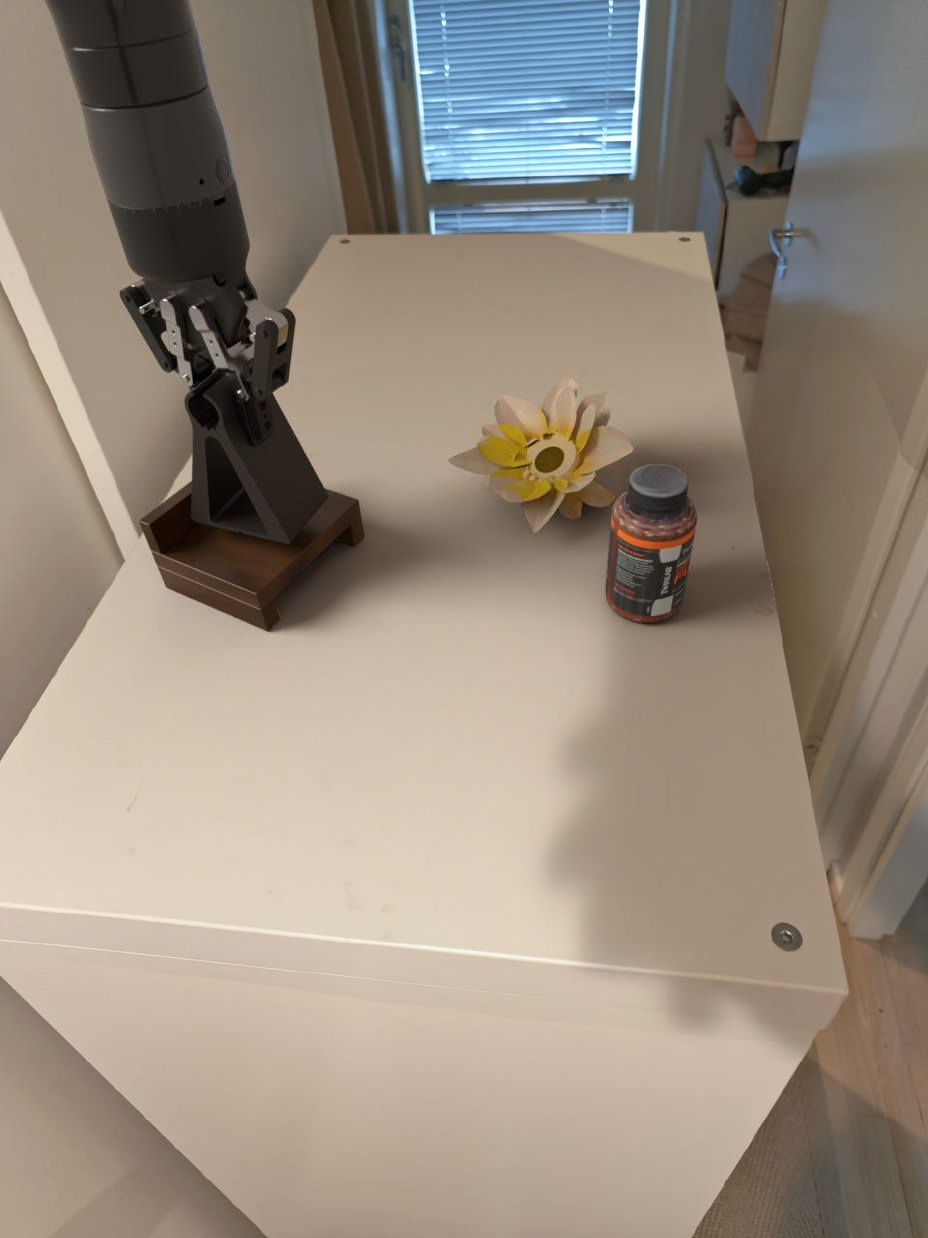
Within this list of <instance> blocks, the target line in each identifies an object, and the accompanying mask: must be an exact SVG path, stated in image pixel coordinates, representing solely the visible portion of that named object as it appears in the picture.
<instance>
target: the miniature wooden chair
mask: <svg viewBox="0 0 928 1238" xmlns="http://www.w3.org/2000/svg"><path fill="white" fill-rule="evenodd" d="M324 488H325V490H326V492H327V494H328V496H329V497H328V499H327V500H326V501H325V502H324V504H323V505H322V506H321V507H320V508H319V509H318V511H317V512H316V513H315V514H314V515H313V517H312V518H311V519H310V520H309V521H308V522H307V524H306V525H305V526H304V527H303V528H302V529H301V531H300V532H299V533H298V534H297V535H296V537H295V538H294V539H293V540H292V541H291V542H290V544H284V543H280V542H276V541H272V540H268V539H263V538H259V537H255V536H251V535H247V534H243V533H242V532H241V531H240V532H234V531H230V530H226V529H222V528H218V527H214V526H209V525H205V524H201V523H197V522H195V521H193V520H192V518H191V498H192V480H191V481H189V482H188V483H187V484H185V485H184V486H183V487H181V488H180V489H179V490H177V491H176V492H175V493H173V494H172V495H170V496H169V497H168V498H166V499H165V500H163V502H162V503H160V504H159V505H157V506H156V507H155V508H154V509H152V510H151V511H149V512H148V513H147V514H145V515H144V516H143V517H142V518H140V519H139V520H138V523H139V526H140V528H141V531H142V533H143V535H144V538H145V540H146V543H147V545H148V547H149V550H150V552H151V555H152V557H153V559H154V562H155V564H156V566H157V569H158V572H159V574H160V576H161V579H162V581H163V584H164V586H165V588H166V589H169V590H170V591H173V592H174V593H178V594H179V595H183V596H185V597H187V598H189V599H191V600H194V601H196V602H198V603H200V604H203V605H205V606H208V607H210V608H212V609H215V610H216V611H219V612H221V613H223V614H225V615H228V616H231V617H232V618H235V619H238V620H240V621H242V622H245V623H247V624H250V626H251V625H252V626H254V627H256V628H259V629H261V630H263V631H266V632H270V631H271V629H273V628H274V626H276V625H277V623H279V621H281V620H282V619H281V615H280V611H279V607H278V605H277V601H276V598H275V597H276V596H277V595H278V594H279V593H280V592H282V590H284V589H285V588H286V587H287V585H289V584H290V583H291V582H292V581H293V580H294V579H295V578H296V577H297V576H298V575H299V574H300V573H301V572H302V571H303V570H305V569H306V568H307V566H308V565H310V564H311V563H312V562H313V561H314V560H315V559H316V558H317V557H318V556H319V555H320V554H322V552H323V551H324V550H326V548H327V547H328V546H330V545H331V544H332V543H333V542H334V541H337V542H340V543H342V544H345V545H348V546H351V547H356V546H357V545H359V543H360V542H361V541H362V540H363V539H364V538H365V536H366V534H365V529H364V523H363V522H364V521H363V518H362V511H361V505H360V500H359V499H358V498H355V497H352V496H349V495H347V494H342V493H341V492H338V491H334V490H331V489H328V488H326V487H324Z"/></svg>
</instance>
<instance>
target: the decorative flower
mask: <svg viewBox="0 0 928 1238" xmlns="http://www.w3.org/2000/svg"><path fill="white" fill-rule="evenodd" d="M578 385H579V383H578V382H577V381H576V380H574V379H573V378H571V377H569V378H563V379H560V380H559V381H557V382H555V384H553V386H551V388H550V389H549V390H548V391H547V393H546V395H545V396H544V398H543V401H542V404H541V408H540V407H539V406H538V405H537V404H536V403H535V402H534V401H529V400H527V399H523V398H519V397H516V396H512V395H508V394H501V396H499V398H498V399H497V401H496V403H495V404H494V409H493V410H494V418H495V421H496V424H486V425H485V424H483V425H482V427H481V434H482V436H481V437H480V439H479V440H478V441H477V442H476V446H475V447H472V448H470V449H468V450H466V451H465V450H464V451H463V452H459V453H458V454H455V455H453V456H452V457H449V458H447V461H448V463H450V464H451V465H452V466H454V467H456V468H458V469H461V470H464V471H465V472H469V473H472V474H474V475H475V474H476V475H478V476H483V477H486V478H485V479H484V484H485V486H486V489H487V490H488V491H489V492H492V493H493V494H496V495H500V496H501V498H502V499H503V500H505V501H507V502H509V503H519V504H520V507H521V509H522V511H523V513H524V516H525V518H526V520H527V522H528V525H529V526H530V528H531V530H532V532H533V533H536V532H539V531H540V530H541V529H542V528H543V527H544V526H545V525H546V523H548V521H550V519H551V518H552V517H553V515H554V514H555V512H556V511H557V510H558V511H559V513H560V514H562V515H563V516H564V517H565V518H566V519H569V520H571V521H573V520H574V521H575V520H577V519H580V518H581V516H582V510H583V509H582V508H583V507H582V506H583V503H585V504H586V505H588V506H591V507H596V508H604V507H608V506H609V505H611V504H612V503H613V502H615V500H616V496H615V495H614V494H612V493H611V492H610V491H608V489H606V488H605V487H604V486H602V485H600V484H599V483H597V482H595V481H594V479H595V477H596V471H598V470H600V469H602V468H605V467H606V466H608V465H611V464H613V463H615V462H617V461H619V460H621V459H623V458H624V457H626V456H628V455H630V454H631V453H632V452H634V446H633V444H632V442H631V440H630V439H629V438H628V436H627V434H626V433H625V432H623V431H621V430H619V429H618V428H616V427H612V426H608V423H609V421H610V418H611V415H612V409H613V406H612V405H613V404H612V399H611V397H610V395H609V393H608V392H607V391H605V390H601V389H599V388H595V389H593V390H592V391H590V392H589V393H587V394H586V395H584V397H583V398H582V400H581V401H580V403H579V405H578V407H577V397H578V387H579V386H578Z"/></svg>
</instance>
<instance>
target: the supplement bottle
mask: <svg viewBox="0 0 928 1238" xmlns="http://www.w3.org/2000/svg"><path fill="white" fill-rule="evenodd" d="M688 490H689V478H688V476H687V475H686V473H685V472H683V471H682V470H681V469H679V468H678V467H675V466H673V465H669V464H664V463H648V464H644V465H641V466H639V467H637V468H636V469H634V470H633V471H632V472H631V473H630V476H629V480H628V486H627V489H626V491H624V492H623V493H622V494H621V495H619V496H618V498H617V499H615V500H616V501H614V504H613V507H612V511H611V517H610V528H609V529H610V530H609V542H608V552H607V561H606V562H607V563H606V564H607V565H606V575H605V587H604V589H605V591H604V593H605V594H604V595H605V600H606V602H607V603H608V604H607V605H608V606H609V607H610V609H611V610H612V611H613V612H614V613H615V614H617V615H618V616H620V617H621V618H623V619H625V620H628V621H631V622H636V623H641V624H642V623H644V624H652V623H659V622H663V621H665V620H667V619H670V618H671V617H673V615H674V616H675V614H676V613H677V612H678V611H679V609H680V608H681V607H682V604H683V599H684V597H685V592H686V585H687V580H688V574H689V568H690V562H691V557H692V552H693V546H694V541H695V536H696V528H697V523H698V512H697V508H696V505H695V503H694V502H693V500H692V499H691V498H690V497H689V496H688V494H689V492H688Z"/></svg>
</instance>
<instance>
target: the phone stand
mask: <svg viewBox="0 0 928 1238" xmlns="http://www.w3.org/2000/svg"><path fill="white" fill-rule="evenodd" d="M242 371H243V374H244V376H245V379H246V378H248V377H249V376H251V374H250V372H249V370H248V367H247V365H246V363H244V364H243V365H242ZM268 398H269V402H270V406H271V411H272V415H273V419H274V423H275V430H274V432H273V434H272V435H271V437H269V438H268V439H267V440H266V441H264V442H263V443H262V444H260V445H259V446H253V445H252V444H251V443H250V441H249V440H248V438H247V436H246V434H245V432H244V430H243V428H242V425H241V422H240V418H239V414H238V411H237V407H236V404H235V400H236V399H237V398H236V396H235V395H234V392H233V390H232V388H231V385H230V383H229V381H228V379H227V376H226V374H225V372H224V371H219V370H218V369H217V368H216V370H215V371H214V372H212V374H211V375H209V376H208V377H207V378H206V379H205V380H203V381H202V382H201V383H200V384H199V385H197V386H196V387H195V388H194V389H193V390H191V391H190V390H189V391H188V392H187V393H186V395H185V396H184V408H185V411H186V413H187V415H188V418H189V420H190V423H191V428H192V455H191V456H192V457H191V458H192V460H191V461H192V462H191V481H192V498H191V518H192V520H193V521H195V522H197V523H201V524H205V525H209V526H214V527H218V528H222V529H226V530H230V531H234V532H240V531H241V532H242V533H243V534H247V535H251V536H255V537H259V538H263V539H268V540H272V541H276V542H280V543H284V544H290V542H291V541H292V540H293V539H294V538H295V537H296V535H297V534H298V533H299V532H300V531H301V529H302V528H303V527H304V526H305V525H306V524H307V522H308V521H309V520H310V519H311V518H312V517H313V515H314V514H315V513H316V512H317V511H318V509H319V508H320V507H321V506H322V505H323V504H324V502H325V501H326V500H327V499H328V497H329V496H328V494H327V492H326V490H325V488H326V487H324V484H323V483H322V480H321V479H320V477H319V475H318V474H317V471H316V470H315V468H314V466H313V464H312V462H311V461H310V459H309V457H308V456H307V454H306V451H305V450H304V447H303V446H302V445H301V442H300V440H299V439H298V437H297V435H296V433H295V431H294V430H293V427H292V426H291V424H290V422H289V420H288V419H287V417H286V415H285V413H284V411H283V409H282V407H281V406H280V404H279V402H278V400H277V399H276V396H275V395H274V392H273V393H271V394H270V395H269V396H268Z"/></svg>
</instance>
